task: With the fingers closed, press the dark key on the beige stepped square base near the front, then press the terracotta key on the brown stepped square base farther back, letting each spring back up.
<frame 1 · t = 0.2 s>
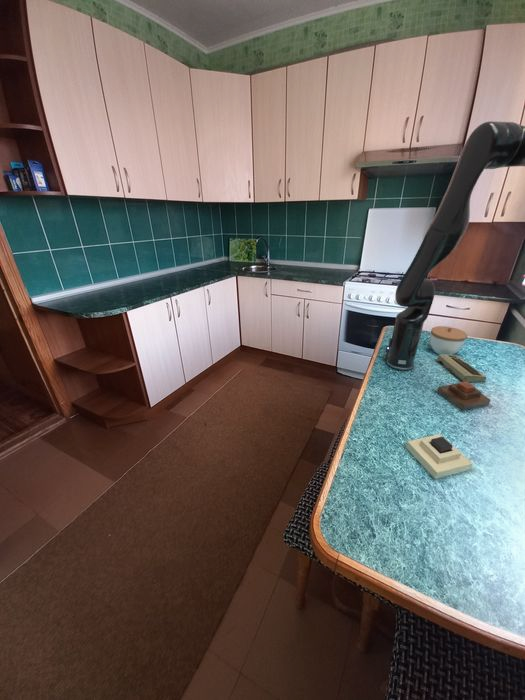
beige stepped square base: (436, 458, 72), on the table
brown stepped square base: (461, 398, 93), on the table
key back: (466, 387, 91), point 4 cm above the table, slide at 0.1 cm
beige piece: (458, 371, 108), on the table
key front: (441, 444, 70), point 4 cm above the table, slide at 0.1 cm
lidded bowl: (442, 352, 121), on the table
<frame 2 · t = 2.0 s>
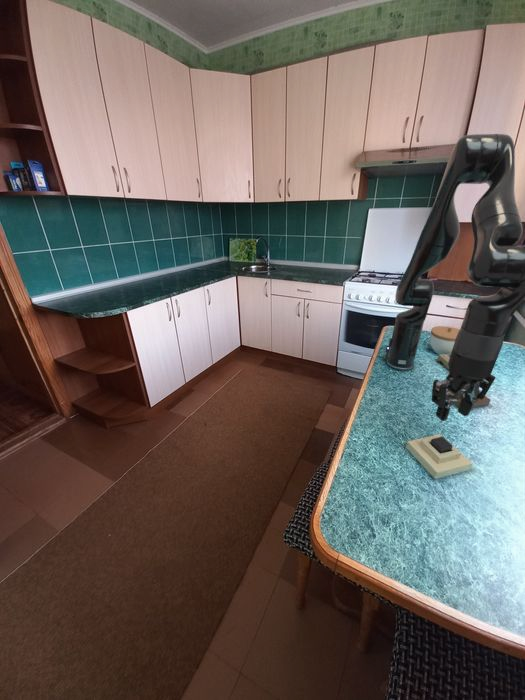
hand: (451, 415, 66), 13 cm above the table, tool pointing down, fingers open, 5 cm apart
nothing on the table moved.
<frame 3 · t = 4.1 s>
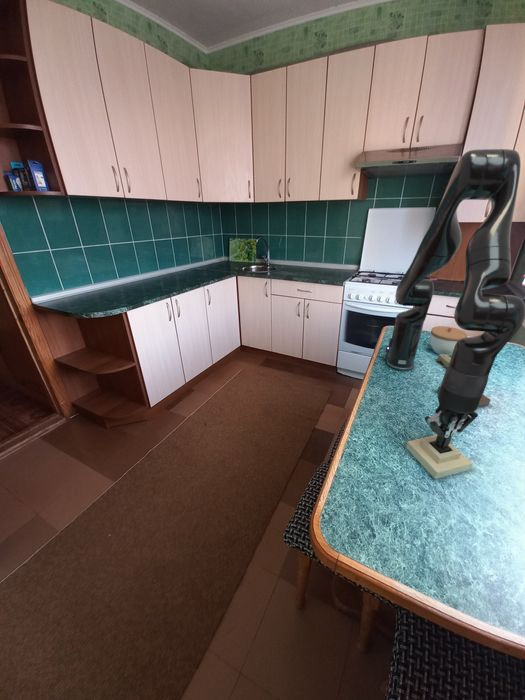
hand: (441, 445, 70), 4 cm above the table, tool pointing down, fingers closed
key front: (440, 447, 70), point 4 cm above the table, slide at -0.9 cm, touching gripper
everything else where it was.
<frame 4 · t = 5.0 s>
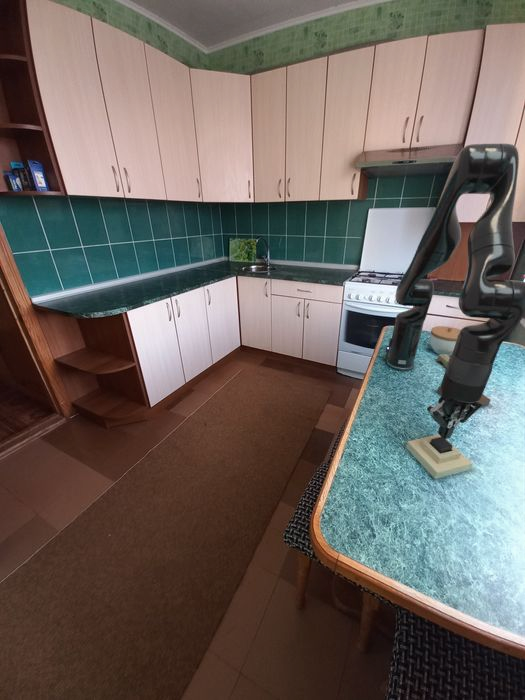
hand: (443, 436, 69), 7 cm above the table, tool pointing down, fingers closed
key front: (441, 444, 70), point 4 cm above the table, slide at 0.1 cm
everything else where it was.
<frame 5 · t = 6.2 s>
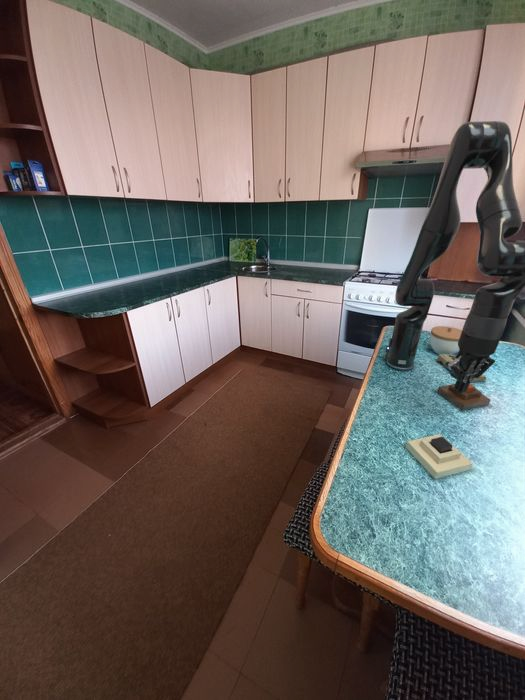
hand: (459, 391, 76), 12 cm above the table, tool pointing down, fingers closed
nothing on the table moved.
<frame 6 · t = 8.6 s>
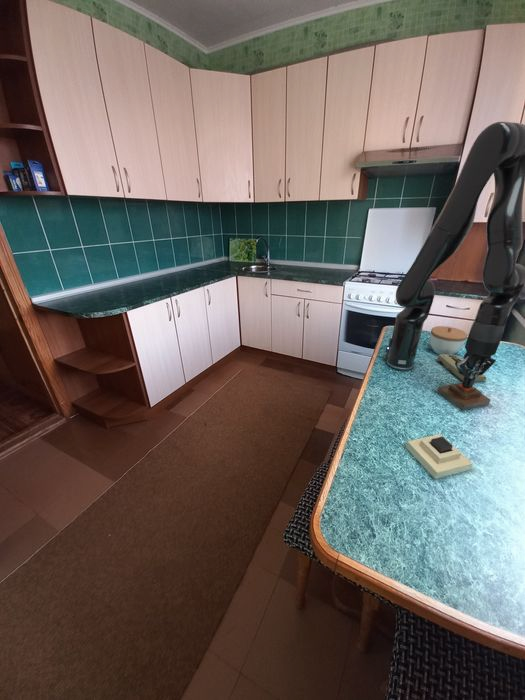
hand: (466, 386, 91), 5 cm above the table, tool pointing down, fingers closed
key back: (465, 388, 91), point 4 cm above the table, slide at -0.5 cm, touching gripper
everything else where it was.
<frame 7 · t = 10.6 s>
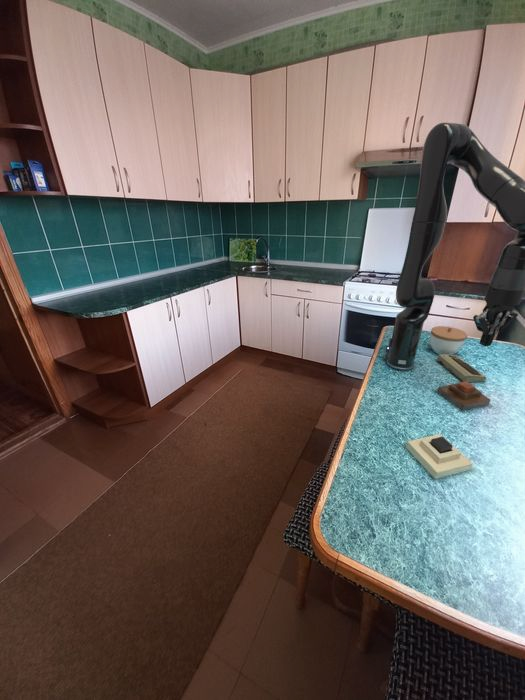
hand: (484, 344, 83), 20 cm above the table, tool pointing down, fingers closed
key back: (466, 387, 91), point 4 cm above the table, slide at 0.1 cm
everything else where it was.
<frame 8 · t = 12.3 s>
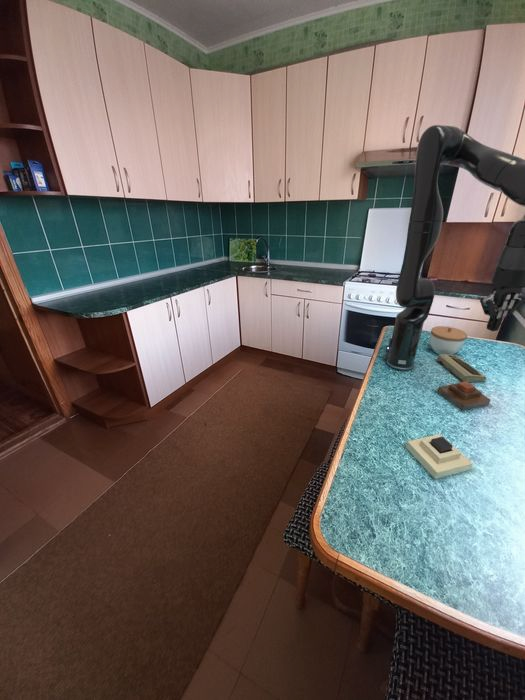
hand: (491, 329, 80), 25 cm above the table, tool pointing down, fingers closed
nothing on the table moved.
at the end: key front pushed in 1.1 cm at the most during the clip, back to where it started at the end; key back pushed in 1.2 cm at the most during the clip, back to where it started at the end; key back slide at 0.1 cm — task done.
